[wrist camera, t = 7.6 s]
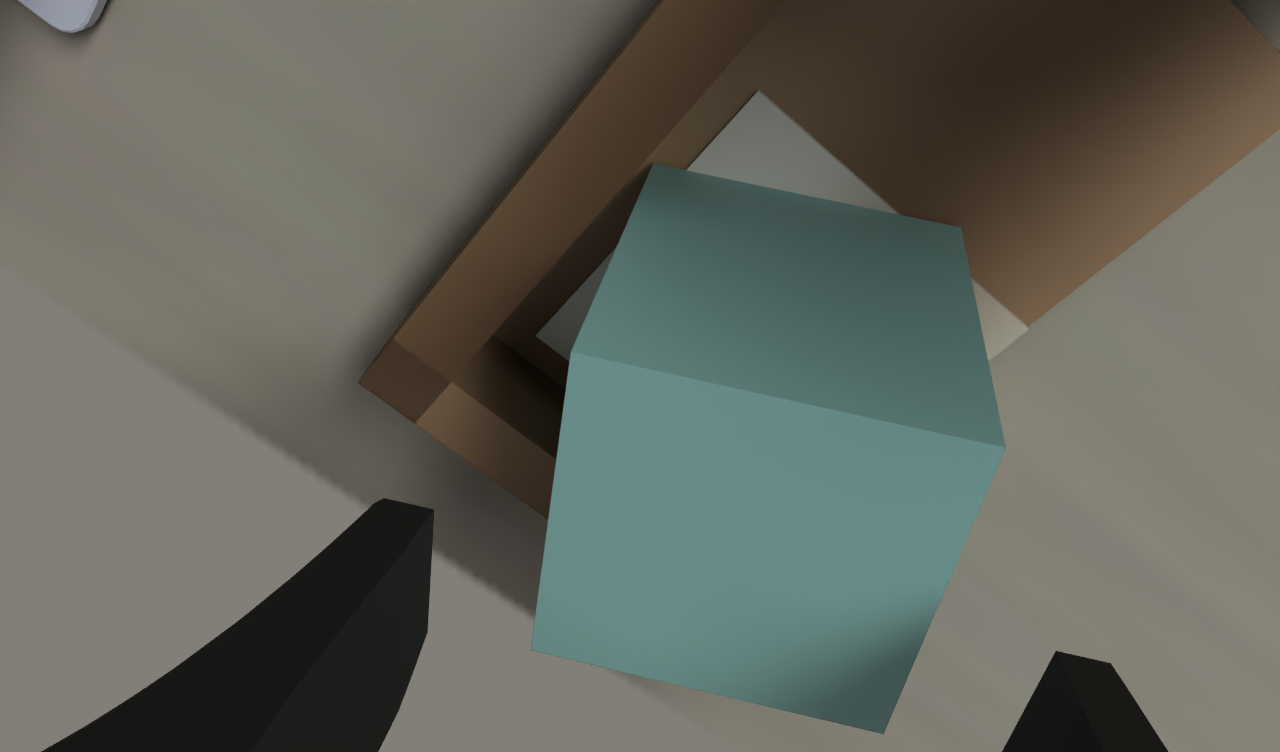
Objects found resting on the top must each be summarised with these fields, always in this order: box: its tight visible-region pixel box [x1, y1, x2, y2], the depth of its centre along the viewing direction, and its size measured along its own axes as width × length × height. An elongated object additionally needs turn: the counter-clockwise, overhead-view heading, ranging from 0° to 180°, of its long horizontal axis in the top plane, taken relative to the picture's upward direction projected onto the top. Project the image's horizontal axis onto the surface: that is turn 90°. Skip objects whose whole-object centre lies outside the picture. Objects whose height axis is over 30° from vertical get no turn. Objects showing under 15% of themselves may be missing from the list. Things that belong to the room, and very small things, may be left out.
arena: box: [358, 0, 1280, 519], centre depth 17 cm, size 8×13×2 cm, turn 141°
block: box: [531, 163, 1006, 734], centre depth 16 cm, size 5×5×6 cm
